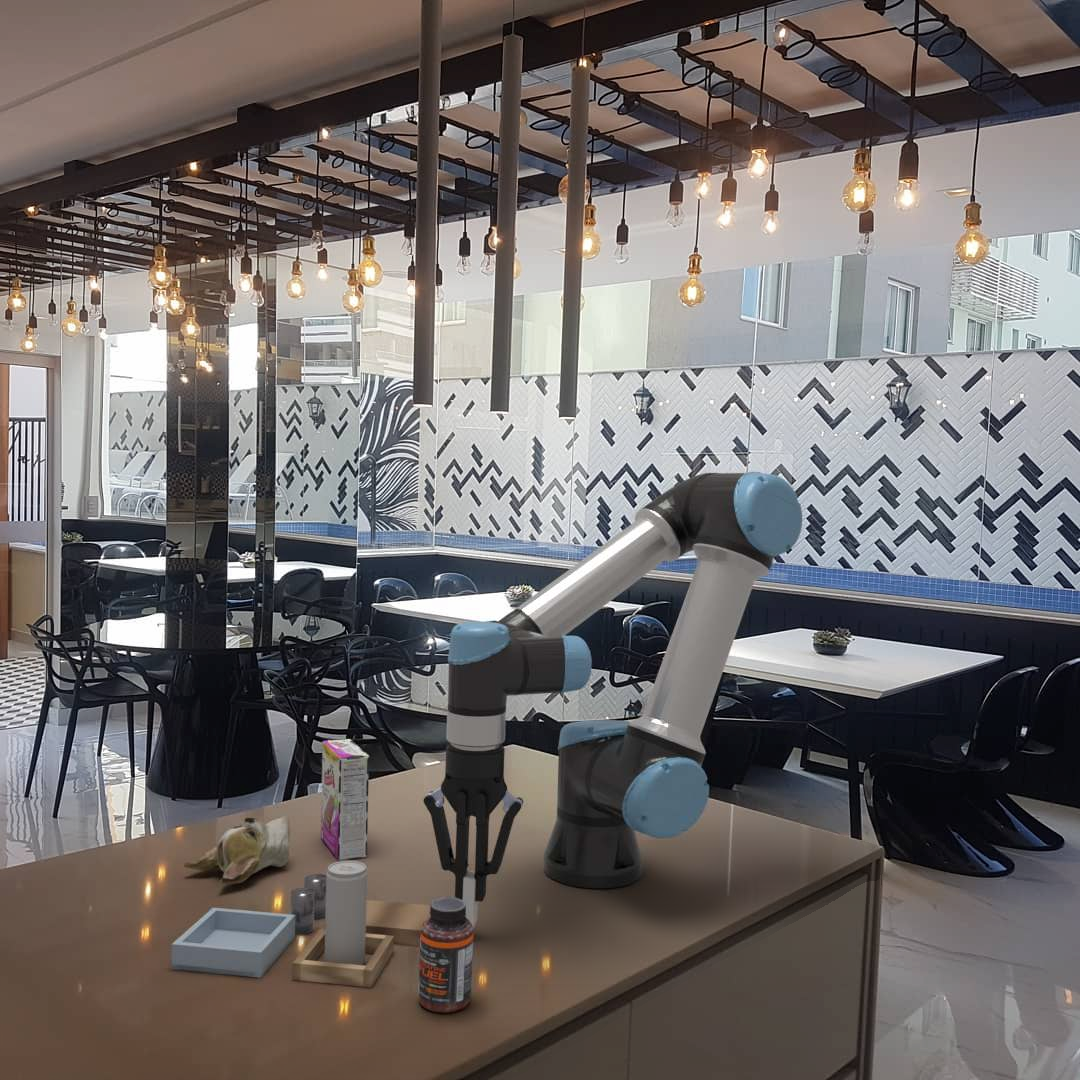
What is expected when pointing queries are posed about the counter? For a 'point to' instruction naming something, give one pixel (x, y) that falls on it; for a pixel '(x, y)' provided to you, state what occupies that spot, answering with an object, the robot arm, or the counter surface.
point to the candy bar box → (344, 799)
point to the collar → (343, 973)
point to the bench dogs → (309, 903)
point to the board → (396, 920)
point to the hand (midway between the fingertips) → (469, 924)
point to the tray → (233, 942)
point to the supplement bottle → (446, 957)
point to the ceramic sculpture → (247, 850)
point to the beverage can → (346, 913)
